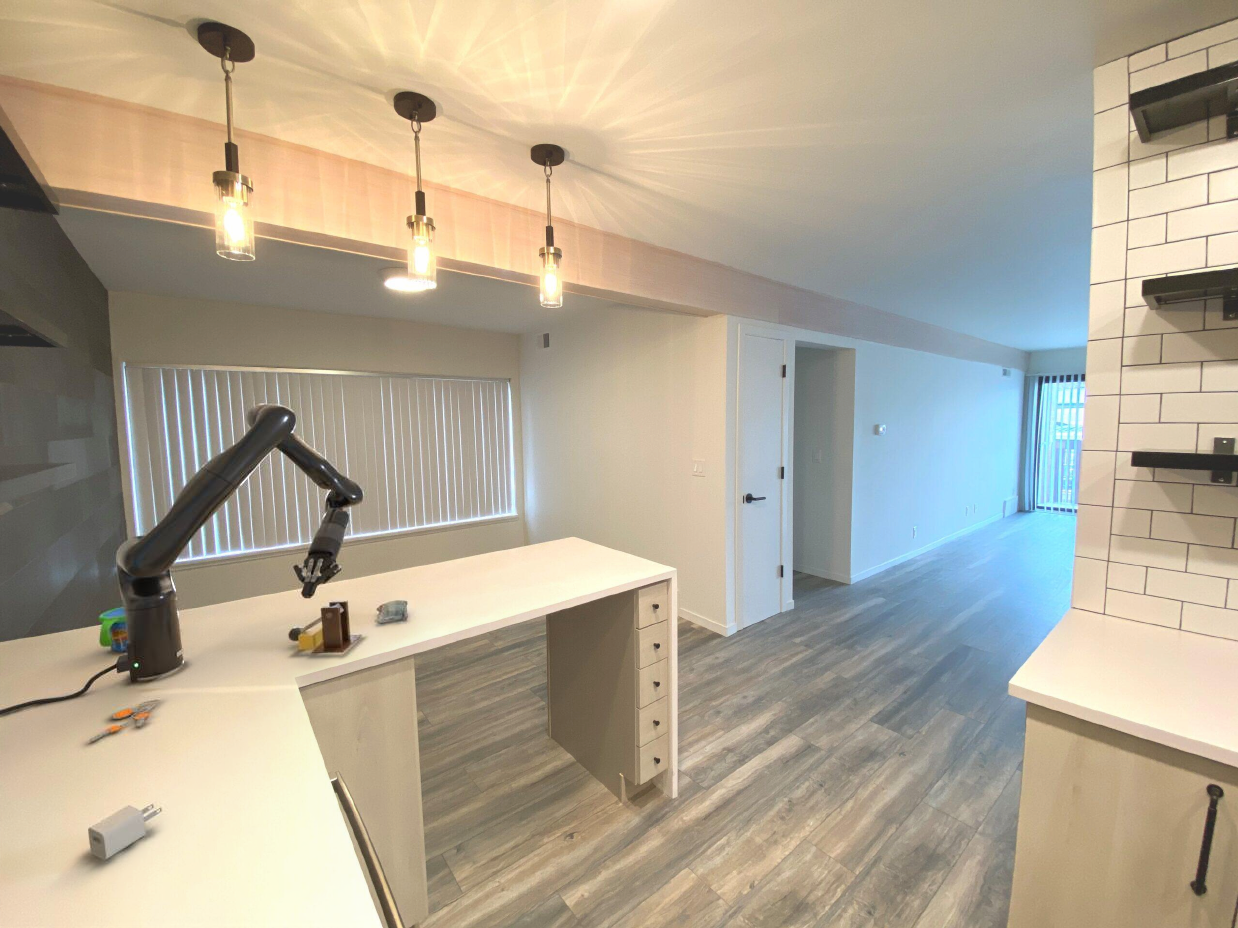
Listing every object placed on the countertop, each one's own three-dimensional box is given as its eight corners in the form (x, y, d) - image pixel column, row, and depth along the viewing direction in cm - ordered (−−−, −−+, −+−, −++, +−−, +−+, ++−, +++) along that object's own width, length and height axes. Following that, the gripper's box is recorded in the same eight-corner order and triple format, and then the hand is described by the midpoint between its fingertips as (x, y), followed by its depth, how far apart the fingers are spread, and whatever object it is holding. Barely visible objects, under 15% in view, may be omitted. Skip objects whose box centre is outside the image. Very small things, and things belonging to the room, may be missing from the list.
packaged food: (375, 629, 144) (374, 612, 143) (377, 614, 155) (376, 599, 154) (408, 624, 147) (407, 607, 147) (407, 610, 158) (407, 595, 158)
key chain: (123, 707, 106) (123, 703, 106) (166, 699, 109) (166, 696, 109) (84, 743, 95) (84, 739, 94) (134, 734, 97) (133, 730, 97)
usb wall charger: (90, 852, 71) (87, 826, 70) (151, 815, 77) (148, 791, 77) (107, 861, 69) (103, 834, 69) (167, 822, 76) (164, 798, 75)
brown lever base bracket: (311, 656, 128) (307, 612, 127) (332, 639, 138) (329, 597, 137) (343, 655, 128) (339, 611, 127) (362, 638, 138) (359, 596, 137)
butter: (293, 655, 129) (292, 638, 128) (311, 641, 137) (310, 625, 136) (312, 655, 129) (311, 637, 128) (329, 641, 137) (328, 624, 136)
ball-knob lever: (290, 646, 131) (282, 634, 130) (298, 639, 134) (290, 628, 134) (339, 616, 130) (331, 605, 130) (346, 611, 134) (339, 599, 134)
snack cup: (137, 634, 143) (133, 600, 142) (175, 633, 144) (172, 598, 143) (81, 661, 128) (76, 622, 127) (124, 659, 128) (119, 621, 127)
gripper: (298, 535, 145) (274, 591, 134) (345, 534, 145) (324, 590, 134) (310, 548, 151) (288, 603, 140) (355, 547, 151) (336, 602, 140)
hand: (306, 597), depth 137 cm, fingers closed
